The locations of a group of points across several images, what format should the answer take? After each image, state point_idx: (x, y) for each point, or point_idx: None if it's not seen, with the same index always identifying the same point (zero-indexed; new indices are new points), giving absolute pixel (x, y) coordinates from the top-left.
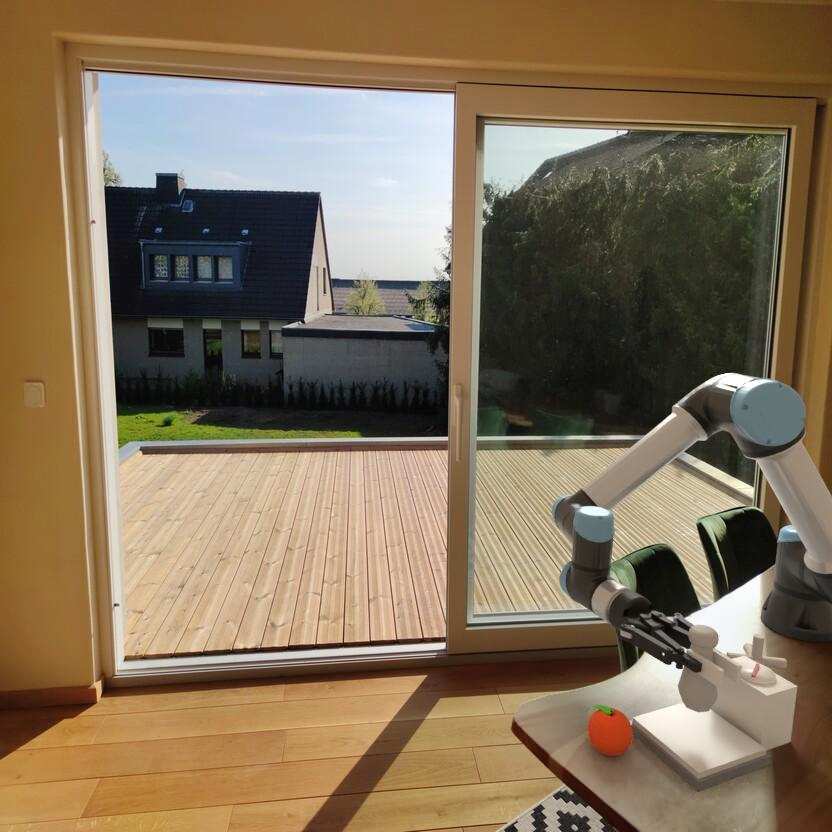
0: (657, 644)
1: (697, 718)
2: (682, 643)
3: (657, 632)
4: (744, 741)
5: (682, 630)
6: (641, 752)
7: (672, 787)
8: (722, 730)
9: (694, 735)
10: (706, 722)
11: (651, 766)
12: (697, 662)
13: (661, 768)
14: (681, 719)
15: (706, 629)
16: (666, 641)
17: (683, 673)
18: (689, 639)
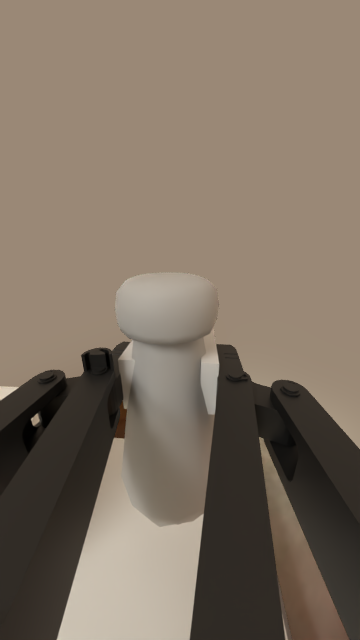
0: (343, 432)
1: (109, 583)
2: (85, 509)
3: (266, 598)
4: (116, 462)
5: (26, 493)
6: (307, 619)
7: (281, 485)
8: (113, 505)
9: (178, 525)
10: (109, 551)
11: (299, 552)
12: (223, 347)
13: (279, 534)
14: (150, 612)
15: (163, 274)
16: (259, 444)
17: (209, 448)
18: (213, 325)
